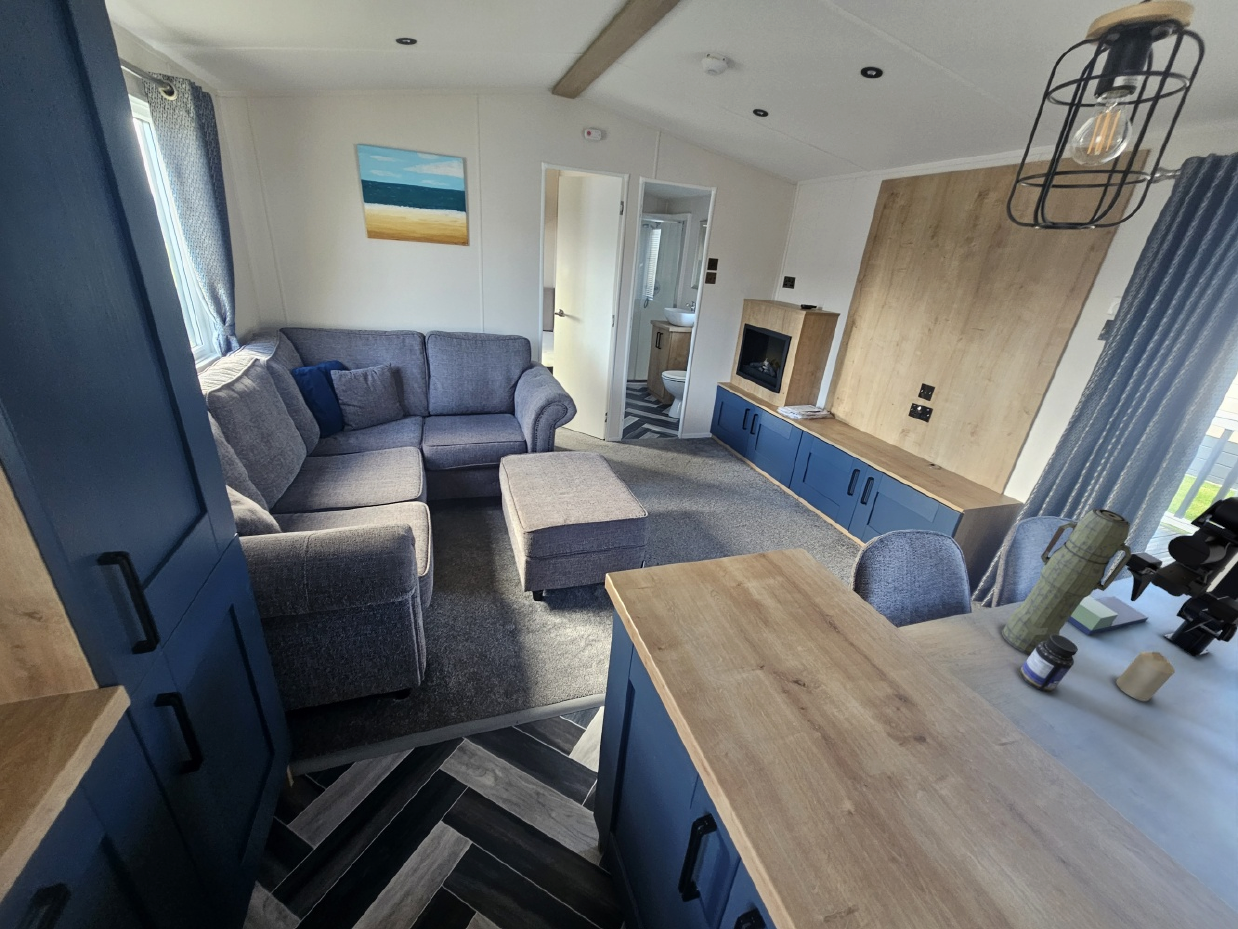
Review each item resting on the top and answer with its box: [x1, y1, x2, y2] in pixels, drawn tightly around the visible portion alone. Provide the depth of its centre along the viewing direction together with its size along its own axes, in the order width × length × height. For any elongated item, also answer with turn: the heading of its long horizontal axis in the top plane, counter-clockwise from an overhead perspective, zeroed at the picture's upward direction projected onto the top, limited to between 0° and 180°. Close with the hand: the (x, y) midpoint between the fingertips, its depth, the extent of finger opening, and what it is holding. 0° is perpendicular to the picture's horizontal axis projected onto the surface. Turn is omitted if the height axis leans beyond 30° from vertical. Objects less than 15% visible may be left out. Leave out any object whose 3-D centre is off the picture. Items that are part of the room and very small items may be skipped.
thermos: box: [1001, 508, 1132, 656], centre depth 110 cm, size 9×12×35 cm
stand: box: [1066, 595, 1149, 636], centre depth 130 cm, size 24×8×6 cm, turn 110°
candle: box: [1116, 651, 1176, 702], centre depth 107 cm, size 6×6×10 cm
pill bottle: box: [1019, 634, 1079, 692], centre depth 105 cm, size 6×6×11 cm
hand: (1157, 615), depth 110 cm, fingers open, 9 cm apart
